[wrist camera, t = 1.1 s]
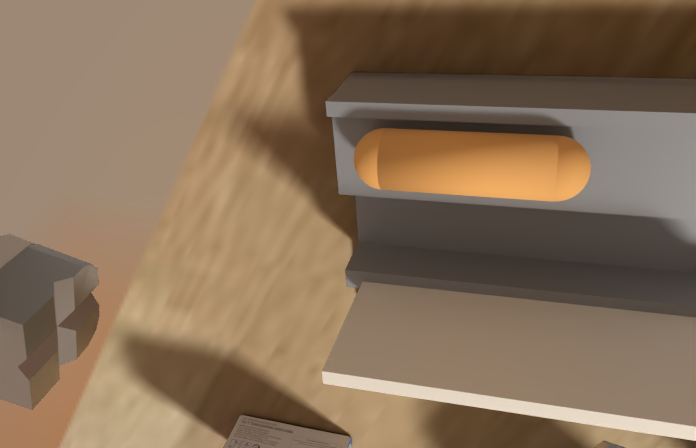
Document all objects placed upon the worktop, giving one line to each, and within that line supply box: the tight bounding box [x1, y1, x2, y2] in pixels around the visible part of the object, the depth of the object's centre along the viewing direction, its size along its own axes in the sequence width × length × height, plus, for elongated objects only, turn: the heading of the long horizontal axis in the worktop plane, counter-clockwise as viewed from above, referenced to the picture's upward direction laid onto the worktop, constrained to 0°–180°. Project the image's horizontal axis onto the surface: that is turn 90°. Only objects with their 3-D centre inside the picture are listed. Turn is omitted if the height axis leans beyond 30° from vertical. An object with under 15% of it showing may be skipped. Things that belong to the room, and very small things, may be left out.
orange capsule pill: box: [354, 128, 591, 202], centre depth 30 cm, size 11×3×3 cm, turn 94°
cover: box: [322, 281, 696, 441], centre depth 32 cm, size 20×8×1 cm
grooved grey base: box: [325, 72, 696, 317], centre depth 35 cm, size 22×16×5 cm
